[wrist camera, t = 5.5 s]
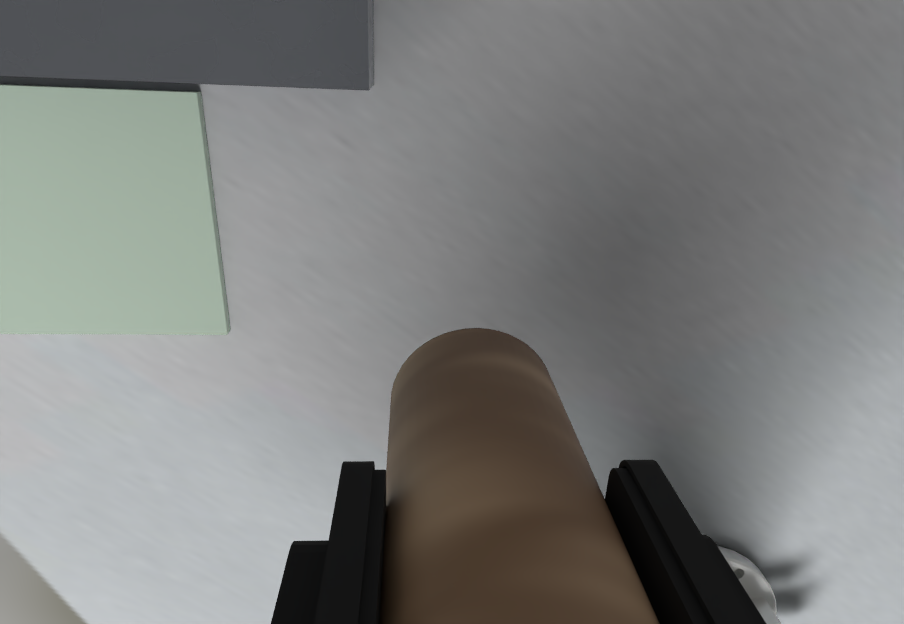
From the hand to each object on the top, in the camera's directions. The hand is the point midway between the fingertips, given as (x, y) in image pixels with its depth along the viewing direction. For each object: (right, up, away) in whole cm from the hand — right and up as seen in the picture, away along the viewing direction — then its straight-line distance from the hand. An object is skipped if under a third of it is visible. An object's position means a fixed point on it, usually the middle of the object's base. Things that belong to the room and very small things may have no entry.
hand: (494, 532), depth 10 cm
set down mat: (-16, +8, +13) cm, 22 cm away
